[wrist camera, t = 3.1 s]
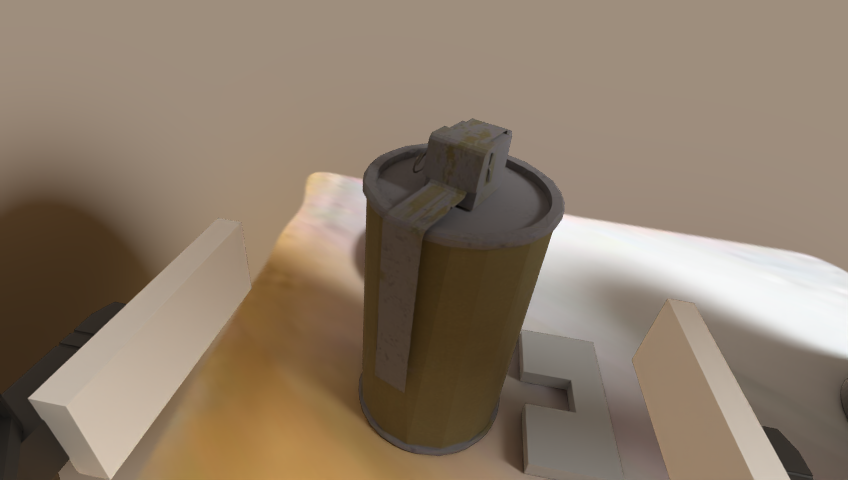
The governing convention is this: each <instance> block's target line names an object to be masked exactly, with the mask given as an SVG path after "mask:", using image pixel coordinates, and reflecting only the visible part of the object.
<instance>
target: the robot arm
mask: <svg viewBox="0 0 848 480" xmlns="http://www.w3.org/2000/svg"><path fill="white" fill-rule="evenodd" d="M251 289H252V287H251V281H250V275H249V268H248V261H247V255H246V248H245V243H244V236H243V229H242V223H241V222H237V221H232V220H227V219H221V218H217V219H216V220H215V221H214V222H213V223H212V224H211V225H210V226H209V227H208V228H207V229H206V230H205V231H204V232H203V233H202V234H201V235H200V236H198V237H197V239H195V240H194V241H193V242H192V243H191V244H190V245H189V246H188V247H187V248H186V249H185V250H184V251H183V252H182V253H181V254H179V255H178V257H176V258H175V259H174V260H173V261H172V262H171V263H170V264H169V265H168V266H167V267H166V268H165V269H164V270H163V271H162V272H161V273H159V274H158V275H157V276H156V277H155V278H154V279H153V280H152V281H151V282H150V283H149V284H148V285H147V286H146V287H145V288H144V289H143V290H142V291H140V292H139V293H138V294H137V295H136V296H135V297H134V298H133V299H132V300H131V301H130V302H129V303H128V304H123V303H118V302H113V303H111V304H109V305H108V306H106V307H104V308H102V309H100V310H98V311H96V312H95V313H93V314H91V315H90V316H89V317H88V318H87V319H86V320H85V321H83V322H82V323H81V324H80V325H79V326H78V327H77V328H76V329H74V332H73V333H70V334H69V335H68V336H67V337H65V338H64V339H63V340H62V341H61V342H60V344H59V346H55V347H54V348H53V349H52V350H51V351H50V352H49V353H47V354H46V355H45V356H44V357H43V358H42V359H41V360H40V361H39V362H37V363H36V364H35V365H34V366H33V367H32V368H31V369H29V370H28V371H27V372H26V373H25V374H24V375H23V376H22V377H21V378H19V379H18V380H17V381H16V382H15V383H14V384H13V385H11V386H10V387H9V388H8V389H7V390H6V391H5V392H4V393H3V394H0V480H60V477H59V474H58V472H59V471H60V470H61V468H62V467H63V466H64V465H65V464H66V462H67V461H68V460H70V462H71V463H72V464H73V466H74V467H75V469H76V470H77V472H78V473H81V474H85V475H89V476H94V477H99V478H103V479H108V480H111V479H112V477H113V476H114V475H115V473H116V472H117V471H118V469H119V468H120V467H121V465H122V464H123V463H124V461H125V459H126V458H127V457H128V456H129V454H130V453H131V452H132V450H133V449H134V448H135V446H136V445H137V443H138V442H139V441H140V439H141V438H142V437H143V435H144V434H145V433H146V431H147V430H148V429H149V427H150V426H151V424H152V423H153V421H154V420H155V419H156V418H157V416H158V415H159V414H160V412H161V411H162V410H163V408H164V407H165V405H166V404H167V403H168V401H169V400H170V398H171V397H172V396H173V394H174V393H175V392H176V391H177V389H178V388H179V386H180V385H181V384H182V382H183V381H184V379H185V378H186V377H187V375H188V374H189V373H190V371H191V370H192V369H193V367H194V366H195V365H196V363H197V362H198V361H199V359H200V358H201V356H202V355H203V354H204V352H205V351H206V350H207V348H208V347H209V346H210V344H211V343H212V342H213V340H214V339H215V337H216V336H217V335H218V333H219V332H220V331H221V329H222V328H223V327H224V325H225V324H226V322H227V321H228V320H229V318H230V317H231V316H232V314H233V313H234V312H235V310H236V309H237V308H238V306H239V305H240V304H241V302H242V301H243V299H244V298H245V297H246V295H247V294H248V293H249V291H250V290H251ZM632 362H633V365H634V368H635V371H636V375H637V378H638V381H639V384H640V387H641V390H642V393H643V397H644V400H645V403H646V406H647V409H648V412H649V415H650V419H651V422H652V425H653V428H654V431H655V434H656V437H657V440H658V444H659V447H660V450H661V453H662V456H663V459H664V462H665V466H666V469H667V472H668V475H669V478H670V480H813V478H812V476H813V475H812V473H811V472H810V470H809V468H808V467H807V465H806V463H805V461H804V460H803V458H802V456H801V455H800V453H799V451H798V450H797V449H796V448H795V447H794V446H793V445H792V444H791V443H790V442H789V441H788V440H787V439H786V438H785V437H784V436H783V434H782V433H781V432H780V431H779V430H778V429H774V428H769V427H764V426H761V425H760V423H759V421H758V419H757V417H756V416H755V414H754V412H753V410H752V408H751V406H750V405H749V403H748V401H747V399H746V397H745V395H744V394H743V392H742V390H741V388H740V386H739V384H738V383H737V381H736V379H735V377H734V375H733V373H732V372H731V370H730V368H729V366H728V364H727V362H726V361H725V359H724V357H723V355H722V353H721V351H720V350H719V348H718V346H717V344H716V342H715V340H714V339H713V337H712V335H711V333H710V331H709V329H708V328H707V326H706V324H705V322H704V320H703V318H702V317H701V315H700V313H699V311H698V309H697V307H696V306H695V304H694V303H690V302H685V301H679V300H674V299H667V301H666V302H665V304H664V306H663V307H662V309H661V311H660V313H659V314H658V316H657V318H656V319H655V321H654V323H653V325H652V326H651V328H650V330H649V331H648V333H647V335H646V337H645V338H644V340H643V342H642V343H641V345H640V347H639V348H638V350H637V352H636V354H635V355H634V357H633V359H632ZM841 400H842V405H843V408H844V411H845V413H846V415H847V417H848V378H847V379H846V380H845V382H844V383H843V385H842V389H841Z"/></svg>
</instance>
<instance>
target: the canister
mask: <svg viewBox="0 0 848 480" xmlns="http://www.w3.org/2000/svg"><path fill="white" fill-rule="evenodd" d="M511 138H512V131H511V130H508V129H505V128H502V127H498V126H495V125H491V124H488V123H485V122H482V121H478V120H475V119H470V120H469V121H467V122H465V121H461V122H459V123H458V124H456V125H454V126H452V127H446V126H444V127H442V128H440V129H438V130H436V131H434V132H432V133H431V135H430V138H429V142H428V143H427V144H419V145H411V146H405V147H402V148H399V149H396V150H393V151H390V152H388V153H385V154H383V155H381V156H380V157H378V158H377V159H375V160H374V161H373V162H372V163H371V164H370V166H369V167H368V168H367V170H366V171H365V173H364V177H363V193H364V194H365V196H366V198H367V207H366V247H365V287H364V327H363V367H362V374H361V377H360V380H359V398H360V402H361V406H362V409H363V412H364V414H365V416H366V418H367V420H368V421H369V423H370V424H371V426H372V427H373V428H374V429H375V430H376V431H377V432H378V433H379V434H380V436H381V437H383V438H384V439H386V440H387V441H389V442H390V443H392V444H394V445H395V446H397V447H399V448H402V449H404V450H406V451H409V452H413V453H416V454H425V455H436V456H441V455H446V454H452V453H456V452H459V451H462V450H464V449H466V448H468V447H469V446H471V445H473V444H474V443H476V442H477V441H479V440H480V439H481V438H482V437H483V436H484V435H486V433H487V432H488V430H489V429H490V427H491V426H492V424H493V422H494V420H495V418H496V415H497V411H498V406H499V395H500V392H501V389H502V386H503V383H504V380H505V377H506V374H507V371H508V368H509V365H510V362H511V359H512V355H513V352H514V349H515V346H516V343H517V340H518V337H519V334H520V331H521V328H522V325H523V322H524V318H525V315H526V312H527V309H528V306H529V303H530V300H531V297H532V294H533V291H534V288H535V285H536V282H537V278H538V275H539V272H540V269H541V266H542V263H543V260H544V257H545V254H546V251H547V248H548V245H549V241H550V238H551V235H552V232H553V230H554V229H555V228H556V227H557V225H558V224H559V223H560V221H561V220H562V217H563V214H564V204H565V203H564V200H563V197H562V194H561V192H560V190H559V189H558V188H557V186H556V185H555V183H554V182H553V181H552V180H551V179H550V178H548V177H547V176H546V175H545V174H543V173H542V172H540V171H539V170H537V169H536V168H534V167H532V166H531V165H529V164H528V163H526V162H525V161H522V160H519V159H517V158H514V157H512V156H509V155H508V152H509V147H510V143H511Z"/></svg>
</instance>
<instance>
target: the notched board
mask: <svg viewBox="0 0 848 480" xmlns="http://www.w3.org/2000/svg"><path fill="white" fill-rule="evenodd" d="M519 363H520V381H522V382H527V383H533V384H538V385H543V386H549V387H554V388H560V389H565V390H567V396H568V403H569V410H570V411H564V410H559V409H554V408H548V407H543V406H538V405H533V404H527V403H525V405H524V408H523V411H522V435H523V459H524V473H525V474H530V475H535V476H540V477H545V478H550V479H555V480H625V479H624V475H623V471H622V466H621V462H620V458H619V453H618V449H617V445H616V440H615V436H614V431H613V427H612V423H611V418H610V414H609V410H608V405H607V401H606V396H605V392H604V388H603V383H602V379H601V375H600V370H599V366H598V361H597V357H596V353H595V348H594V344H593V342H589V341H583V340H578V339H572V338H567V337H561V336H555V335H550V334H544V333H538V332H533V331H527V330H521V333H520V336H519Z"/></svg>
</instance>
